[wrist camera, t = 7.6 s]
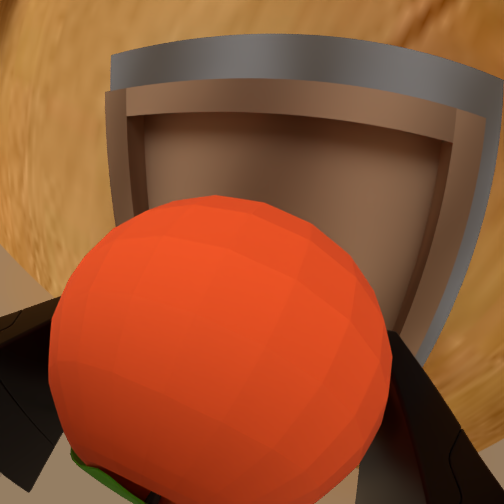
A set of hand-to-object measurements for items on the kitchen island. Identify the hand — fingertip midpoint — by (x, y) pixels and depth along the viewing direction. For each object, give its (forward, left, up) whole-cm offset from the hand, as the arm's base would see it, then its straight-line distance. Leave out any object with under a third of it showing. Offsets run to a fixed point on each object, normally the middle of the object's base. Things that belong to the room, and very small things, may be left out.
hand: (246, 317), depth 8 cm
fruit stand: (0, 0, -6) cm, 6 cm away
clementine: (+1, 0, -2) cm, 2 cm away
